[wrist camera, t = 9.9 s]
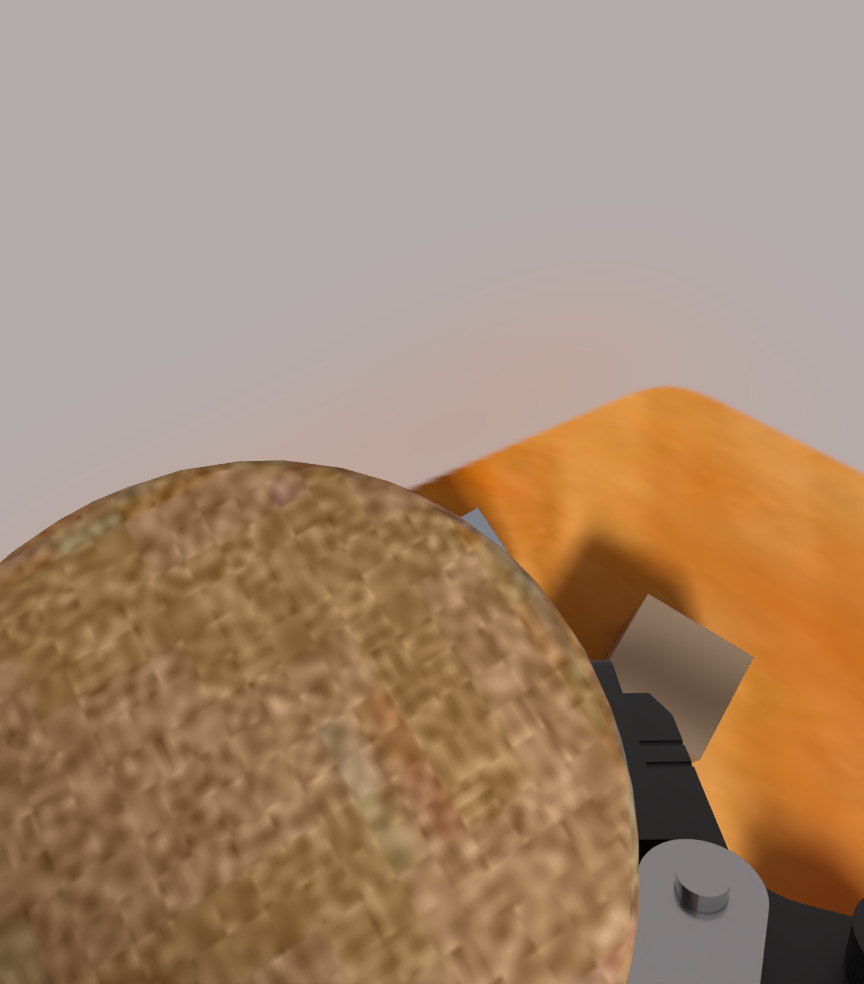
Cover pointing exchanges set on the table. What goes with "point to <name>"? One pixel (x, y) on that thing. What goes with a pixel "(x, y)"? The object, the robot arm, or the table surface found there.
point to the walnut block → (679, 669)
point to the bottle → (301, 747)
